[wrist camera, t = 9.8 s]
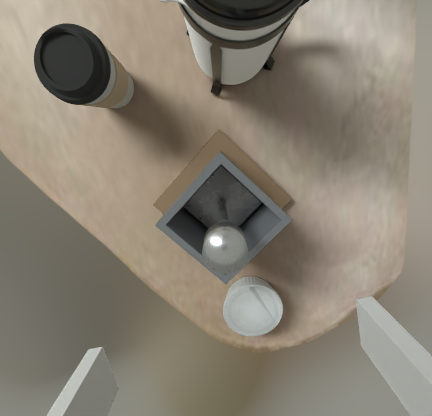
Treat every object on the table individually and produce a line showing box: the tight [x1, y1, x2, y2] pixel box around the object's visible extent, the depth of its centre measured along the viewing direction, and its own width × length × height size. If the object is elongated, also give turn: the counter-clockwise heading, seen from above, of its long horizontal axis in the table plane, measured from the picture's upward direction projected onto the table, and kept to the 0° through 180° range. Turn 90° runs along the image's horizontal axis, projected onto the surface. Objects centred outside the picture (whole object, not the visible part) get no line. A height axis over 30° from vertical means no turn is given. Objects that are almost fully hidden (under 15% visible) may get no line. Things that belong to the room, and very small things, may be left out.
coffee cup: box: [34, 24, 134, 108], centre depth 37 cm, size 9×9×15 cm
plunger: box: [183, 165, 261, 274], centre depth 35 cm, size 10×10×22 cm
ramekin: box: [223, 276, 283, 336], centre depth 51 cm, size 11×11×5 cm
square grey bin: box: [153, 130, 292, 284], centre depth 42 cm, size 18×18×14 cm
